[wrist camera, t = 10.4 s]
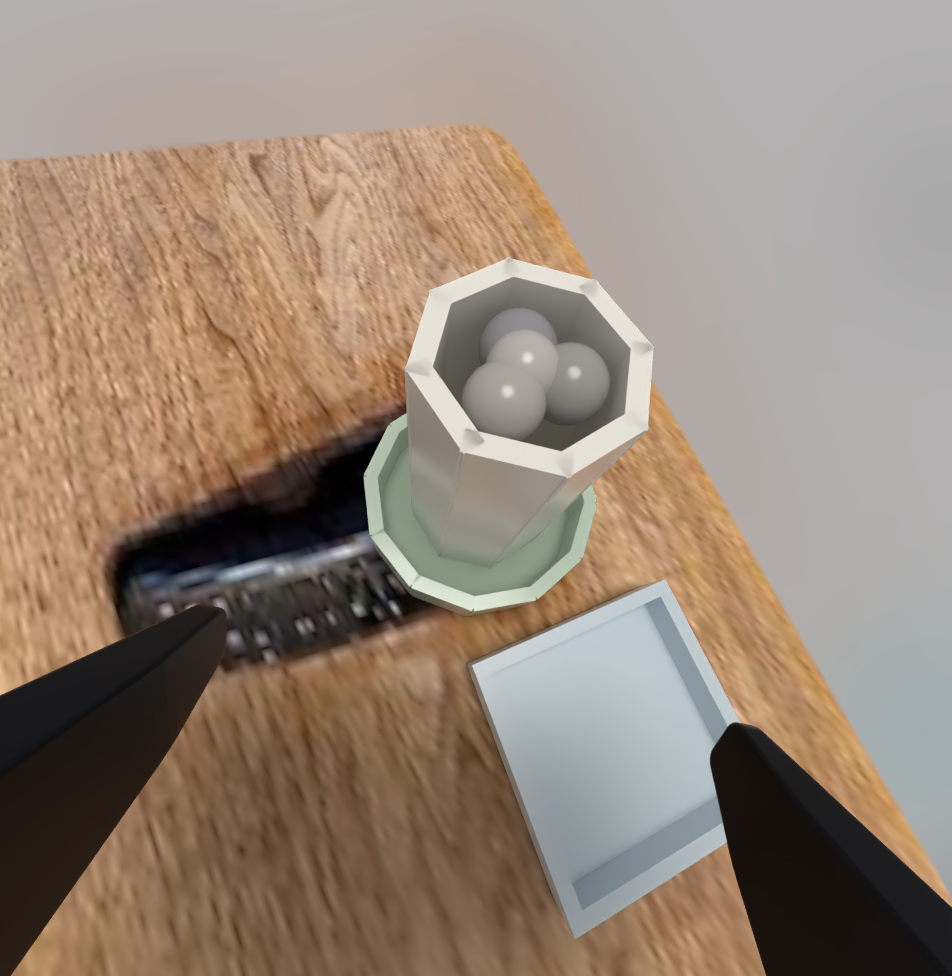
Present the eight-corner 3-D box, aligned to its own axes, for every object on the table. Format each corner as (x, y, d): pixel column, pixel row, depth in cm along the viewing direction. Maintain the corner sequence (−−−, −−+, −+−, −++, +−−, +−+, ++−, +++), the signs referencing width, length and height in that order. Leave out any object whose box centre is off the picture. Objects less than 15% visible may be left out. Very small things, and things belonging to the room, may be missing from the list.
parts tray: (741, 787, 20) (784, 805, 18) (554, 901, 18) (575, 939, 15) (639, 586, 23) (665, 579, 20) (466, 663, 20) (472, 665, 18)
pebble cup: (526, 577, 21) (652, 491, 10) (402, 549, 21) (381, 426, 10) (544, 464, 24) (666, 284, 12) (432, 437, 23) (445, 227, 12)
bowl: (540, 645, 21) (559, 644, 18) (337, 567, 21) (324, 554, 18) (593, 459, 25) (615, 435, 22) (419, 394, 25) (420, 361, 22)
